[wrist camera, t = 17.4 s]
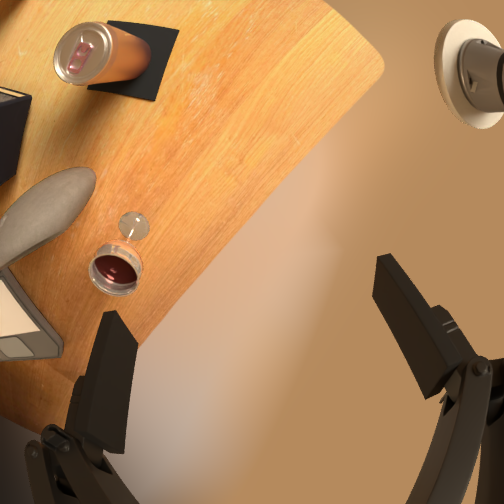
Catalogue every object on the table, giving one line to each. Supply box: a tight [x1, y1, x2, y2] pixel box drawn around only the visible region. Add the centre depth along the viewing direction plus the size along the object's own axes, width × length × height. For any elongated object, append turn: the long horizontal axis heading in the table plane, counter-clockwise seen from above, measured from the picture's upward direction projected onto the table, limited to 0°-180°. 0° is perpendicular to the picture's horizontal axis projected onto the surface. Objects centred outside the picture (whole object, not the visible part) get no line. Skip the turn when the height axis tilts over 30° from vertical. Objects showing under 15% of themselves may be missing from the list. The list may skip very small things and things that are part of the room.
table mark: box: [87, 20, 179, 101], centre depth 28 cm, size 10×10×1 cm
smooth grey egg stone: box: [0, 167, 96, 271], centre depth 29 cm, size 18×7×19 cm, turn 110°
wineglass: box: [88, 212, 149, 297], centre depth 37 cm, size 7×7×12 cm
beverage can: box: [53, 22, 151, 86], centre depth 22 cm, size 6×6×15 cm
